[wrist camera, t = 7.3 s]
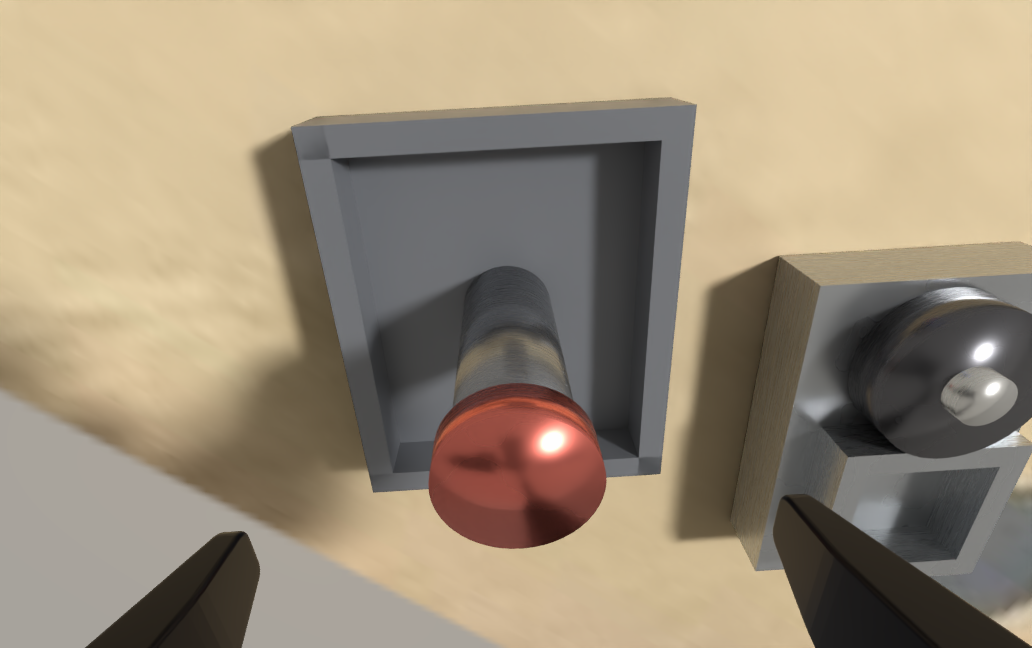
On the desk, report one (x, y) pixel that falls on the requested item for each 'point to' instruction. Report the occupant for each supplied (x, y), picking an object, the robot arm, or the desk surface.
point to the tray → (502, 257)
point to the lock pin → (514, 424)
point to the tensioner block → (893, 398)
